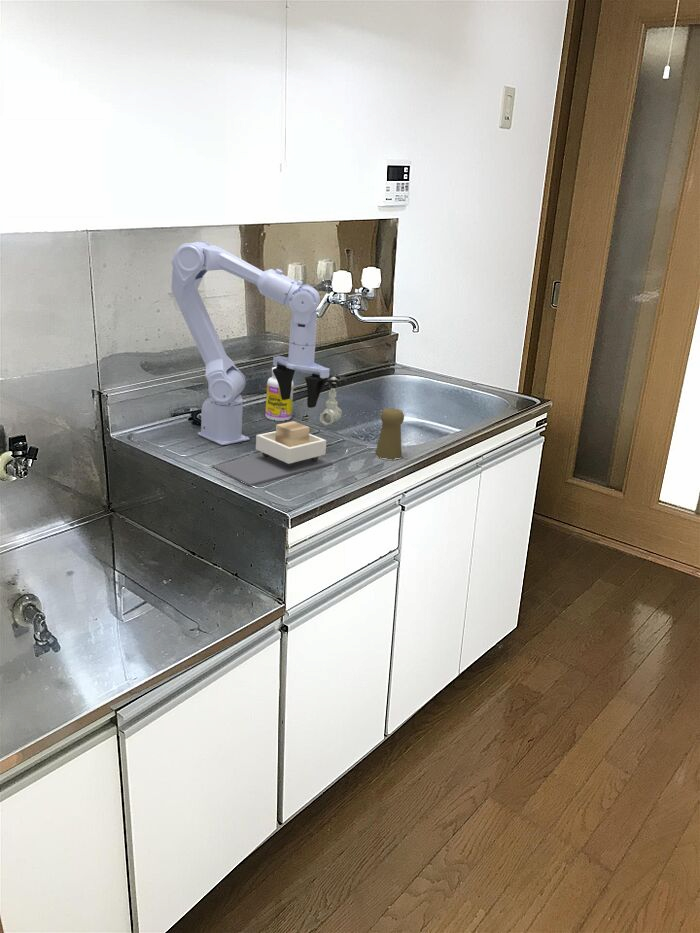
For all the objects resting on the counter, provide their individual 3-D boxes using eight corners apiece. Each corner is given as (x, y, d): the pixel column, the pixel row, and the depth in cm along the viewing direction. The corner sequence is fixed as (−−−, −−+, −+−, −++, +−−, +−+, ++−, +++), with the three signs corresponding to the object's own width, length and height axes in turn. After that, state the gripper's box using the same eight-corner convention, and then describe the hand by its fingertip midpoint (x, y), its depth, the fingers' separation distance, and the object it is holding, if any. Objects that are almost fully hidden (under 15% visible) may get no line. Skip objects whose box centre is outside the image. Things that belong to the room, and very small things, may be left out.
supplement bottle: (262, 419, 195) (264, 369, 191) (269, 413, 202) (271, 364, 197) (288, 423, 195) (291, 373, 190) (294, 416, 201) (297, 367, 196)
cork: (401, 453, 180) (407, 407, 176) (401, 461, 174) (406, 414, 171) (376, 450, 181) (380, 404, 177) (374, 458, 175) (378, 411, 171)
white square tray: (255, 456, 167) (256, 435, 166) (292, 447, 175) (293, 427, 173) (288, 471, 161) (289, 449, 159) (324, 461, 168) (326, 440, 166)
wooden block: (275, 446, 167) (276, 424, 165) (292, 442, 170) (293, 421, 169) (290, 453, 164) (292, 430, 162) (308, 449, 167) (309, 427, 165)
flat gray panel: (212, 468, 161) (212, 466, 160) (295, 448, 177) (295, 446, 176) (249, 486, 153) (249, 484, 153) (332, 464, 169) (332, 462, 169)
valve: (313, 424, 196) (316, 377, 191) (323, 418, 201) (326, 372, 197) (337, 429, 194) (341, 382, 189) (346, 422, 199) (350, 376, 195)
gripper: (265, 338, 170) (262, 398, 175) (316, 351, 163) (312, 413, 167) (286, 335, 176) (283, 393, 181) (337, 347, 168) (332, 407, 173)
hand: (298, 403), depth 174 cm, fingers open, 7 cm apart
